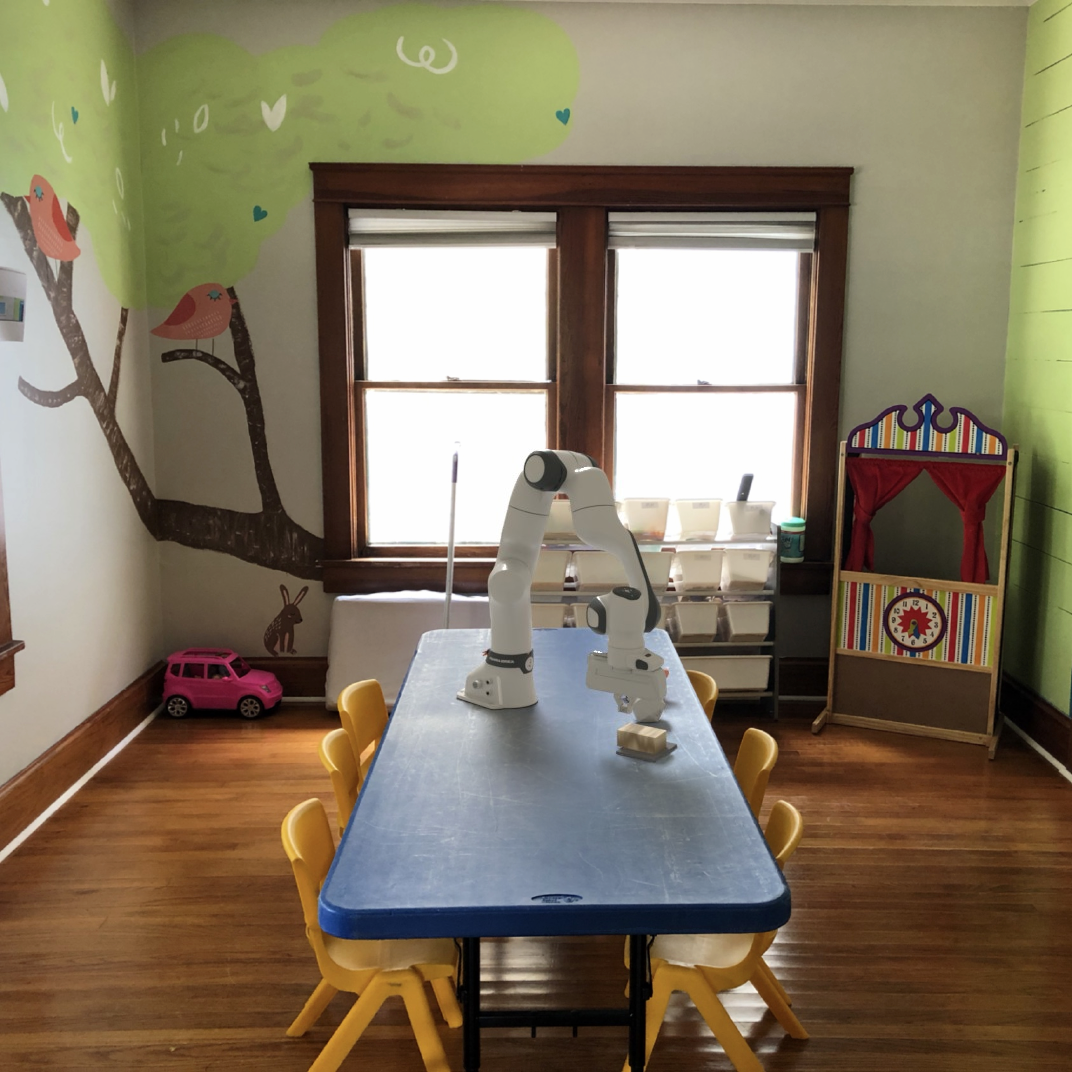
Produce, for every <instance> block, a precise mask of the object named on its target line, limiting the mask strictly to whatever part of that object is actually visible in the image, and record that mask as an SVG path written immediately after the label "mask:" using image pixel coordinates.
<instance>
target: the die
mask: <svg viewBox="0 0 1072 1072" xmlns="http://www.w3.org/2000/svg"><path fill="white" fill-rule="evenodd" d="M666 705H667V704H666V703H665V700H664V699H662V700H661V701H659V702H655V701H650V700H645V699H639V698H637V699H636V701H635V702H634V704H633V705H632V713H633V715H634V717H635V719H636V721H637V723H659V721H660V719H661V717H662V714H663V712H664V710H665V707H666Z"/></svg>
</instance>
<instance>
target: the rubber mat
mask: <svg viewBox="0 0 1072 1072" xmlns="http://www.w3.org/2000/svg"><path fill="white" fill-rule="evenodd" d="M677 747H678V744H677V743H674V742H669V741H666V747H665V748H664V749H662V750H661V751H659V752H658V753H656V754H651V753H646V752H642V751H637V750H633V749H628V748H624V747H620V748H618V749H617V750H616V751H615V754H617V755H621V756H626V757H630V758H633V759H638V760H643V761H647V762H652V763H656V762H657V761H658V760H660V759H662V758H663V757H664V756H666V755H667V754H669V753H670V752H671V751H673V750H674V749H676V748H677Z"/></svg>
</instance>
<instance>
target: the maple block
mask: <svg viewBox="0 0 1072 1072" xmlns="http://www.w3.org/2000/svg"><path fill="white" fill-rule="evenodd" d="M667 733H668V731H667V730H665V729H661V728H657V727H653V726H647V725H642V724H637V723H632V722H628V723H626V724H625V725H623V726H621V727H620V728H618V729H617V731H616V735H617V736H616V746H617V747H620V748H622V747H624V748H628V749H633V750H637V751H642V752H646V753H651V754H656V753H658V752H659V751H661V750H662V749H664V748H665V747H666V742H667V737H668V736H667Z"/></svg>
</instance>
